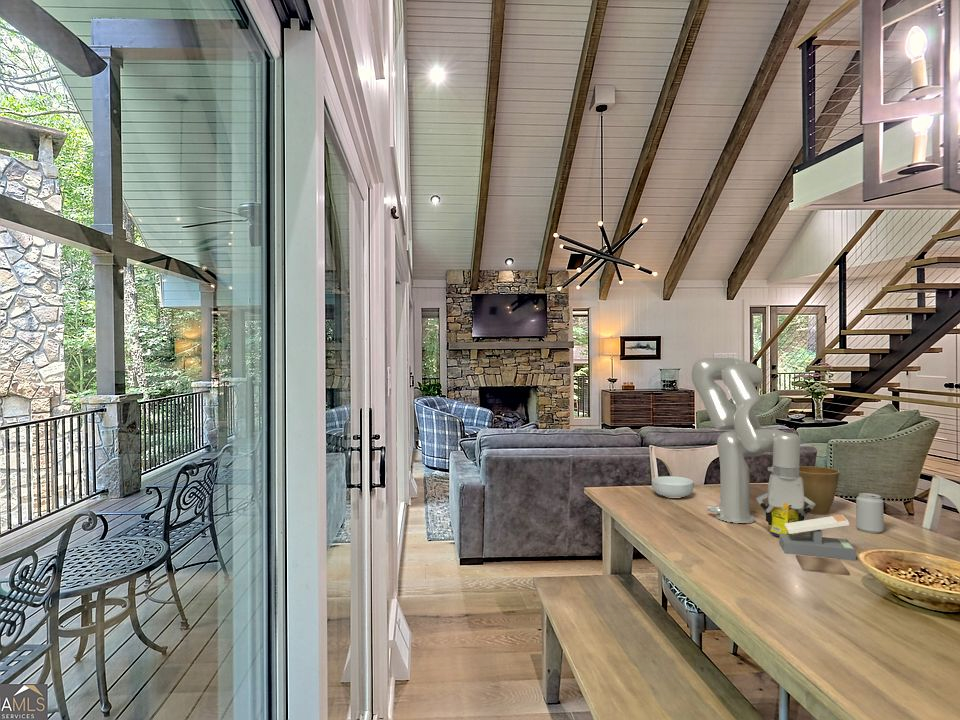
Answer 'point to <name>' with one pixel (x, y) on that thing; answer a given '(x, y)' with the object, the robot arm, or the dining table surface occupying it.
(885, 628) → the dining table surface
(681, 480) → the cereal bowl
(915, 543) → the dining table surface
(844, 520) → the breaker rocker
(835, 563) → the pad
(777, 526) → the supplement box
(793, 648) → the dining table surface
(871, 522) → the can
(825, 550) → the grey pedestal base
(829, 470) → the plant pot
